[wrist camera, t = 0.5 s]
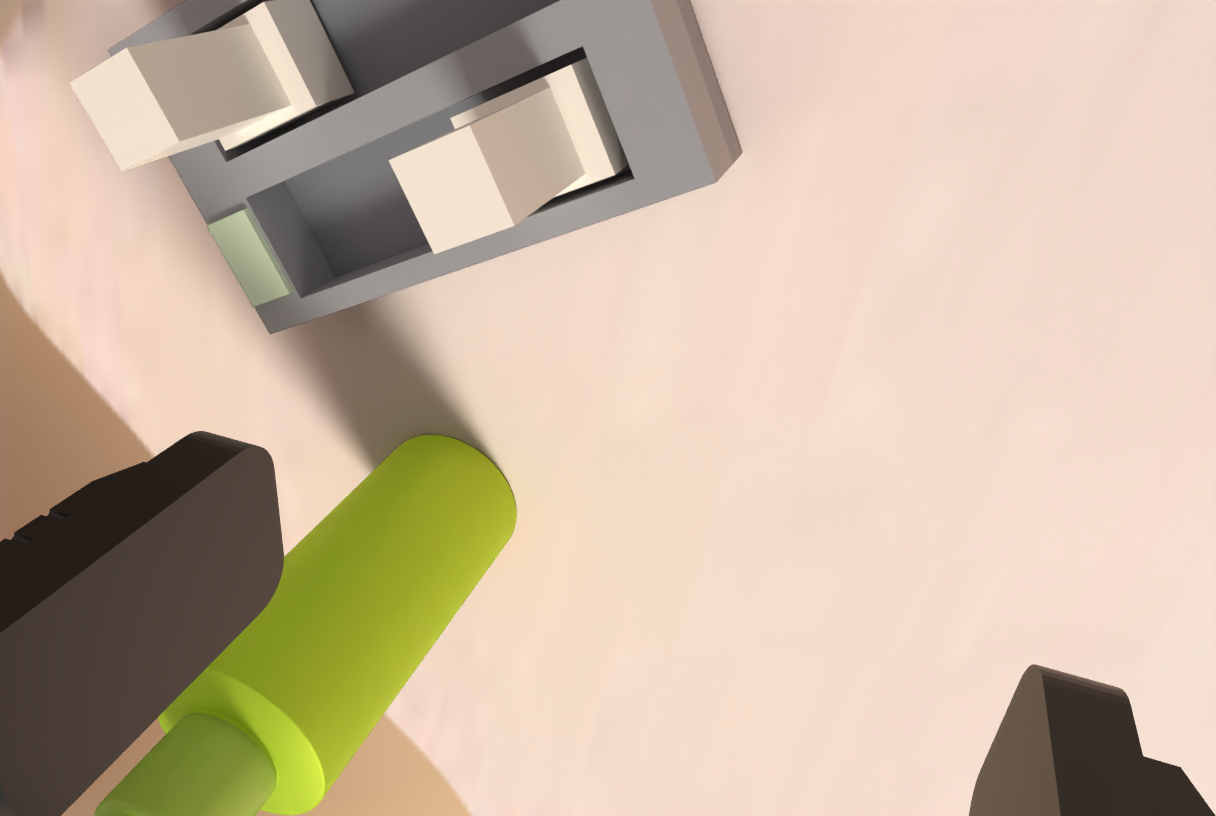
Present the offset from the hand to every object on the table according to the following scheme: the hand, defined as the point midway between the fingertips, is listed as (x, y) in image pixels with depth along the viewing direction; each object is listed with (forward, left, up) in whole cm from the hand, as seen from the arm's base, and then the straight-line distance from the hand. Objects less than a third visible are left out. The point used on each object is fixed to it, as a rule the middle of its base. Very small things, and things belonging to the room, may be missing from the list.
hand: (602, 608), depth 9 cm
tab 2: (+7, -3, -18) cm, 20 cm away
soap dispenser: (+19, +8, -20) cm, 29 cm away
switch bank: (+11, -6, -20) cm, 23 cm away
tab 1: (+15, -8, -18) cm, 25 cm away
